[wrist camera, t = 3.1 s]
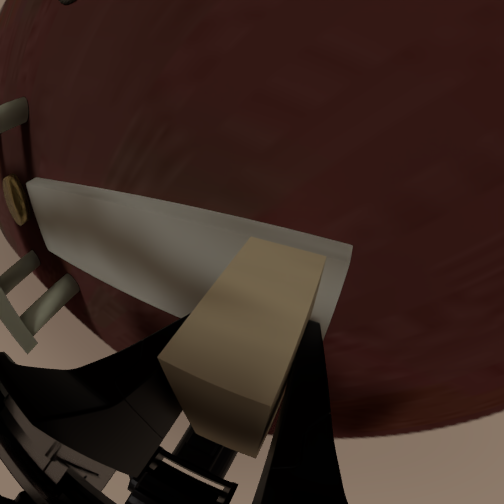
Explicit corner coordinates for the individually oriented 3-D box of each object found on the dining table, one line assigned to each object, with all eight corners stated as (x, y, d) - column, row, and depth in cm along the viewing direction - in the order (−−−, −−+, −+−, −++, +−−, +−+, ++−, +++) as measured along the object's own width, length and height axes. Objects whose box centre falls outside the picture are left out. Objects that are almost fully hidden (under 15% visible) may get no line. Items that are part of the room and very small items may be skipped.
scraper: (318, 348, 12) (274, 464, 8) (56, 243, 18) (5, 285, 14) (352, 245, 9) (309, 418, 4) (35, 177, 15) (-26, 216, 10)
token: (37, 220, 19) (27, 226, 18) (22, 218, 20) (14, 224, 20) (21, 169, 16) (10, 174, 15) (8, 175, 18) (-1, 179, 17)
